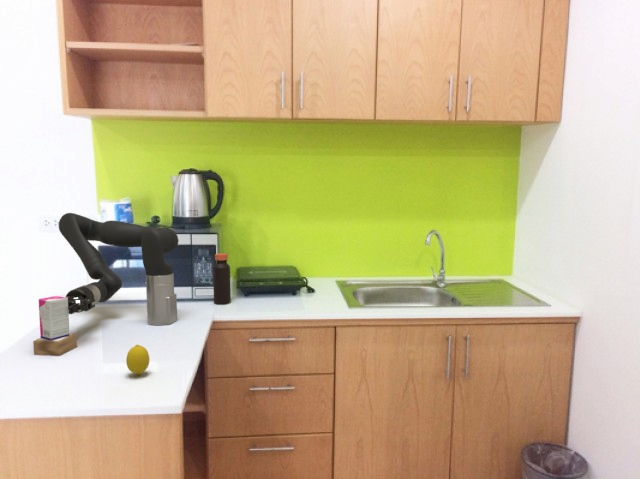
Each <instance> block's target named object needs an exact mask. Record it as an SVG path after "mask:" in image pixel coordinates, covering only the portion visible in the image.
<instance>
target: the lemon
mask: <svg viewBox="0 0 640 479" xmlns="http://www.w3.org/2000/svg"><path fill="white" fill-rule="evenodd" d="M125 363H126V366H127V369H128V370H129V371H130V372H131V373H133V374H136V376H140V375H141V374H142V373H144V372H145V371H146V370H147V369H148V367H149V364H150V354H149V351H148V350H147V348H146V347H144V346H142V345H140V344H135V345H134V346H132V347H131V348H130V349H129V350H128V352H127V354H126V362H125Z"/></svg>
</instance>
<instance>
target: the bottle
mask: <svg viewBox="0 0 640 479" xmlns="http://www.w3.org/2000/svg"><path fill="white" fill-rule="evenodd" d="M228 257H229V256H228V253H225V252H223V253H216V254H214V261H215V264H214V265H213V266H212V276H213V277H212V281H213V282H212V283H213V285H212V286H213V303H214V305H228V304H230V303H231V301H232V299H231V296H232V293H231V266H230V265H229V264H228Z"/></svg>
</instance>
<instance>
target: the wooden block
mask: <svg viewBox="0 0 640 479" xmlns="http://www.w3.org/2000/svg"><path fill="white" fill-rule="evenodd" d="M77 342H78V338H77V333H70V335H69V336H66V337H63V338H59V339H56V340H52V341H51V340H48V339H44V338H41V337H40V338H37V339H35V340H33V342H32V344H33V354H34V355H35V356H51V357H52V356H53V357H61V356H63V355H64V354H66V353H68V352H70V351H73V349H76V348H78V343H77Z"/></svg>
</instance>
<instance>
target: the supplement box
mask: <svg viewBox="0 0 640 479" xmlns="http://www.w3.org/2000/svg"><path fill="white" fill-rule="evenodd" d="M38 314H39V330H40V332H39V334H40V335H39V336H40V338H44V339H48V340H51V341H52V340H56V339H59V338H63V337H66V336H69V335H70V334H71V333H70V317H69V315H70V314H69V310H68V298H66V296H60V295H55V296H48V297H44V298H43V297H42V298H38Z"/></svg>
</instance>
